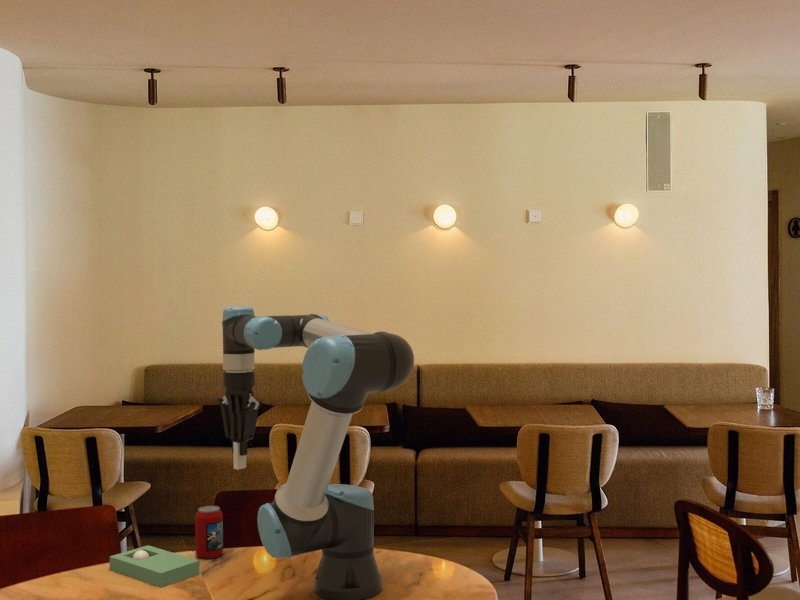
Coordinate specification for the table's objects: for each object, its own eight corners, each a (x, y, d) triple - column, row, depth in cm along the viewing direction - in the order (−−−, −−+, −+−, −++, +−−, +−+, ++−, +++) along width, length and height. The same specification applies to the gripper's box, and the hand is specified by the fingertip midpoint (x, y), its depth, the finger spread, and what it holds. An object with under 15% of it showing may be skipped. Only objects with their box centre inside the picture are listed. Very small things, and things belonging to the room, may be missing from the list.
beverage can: (216, 560, 212) (215, 512, 212) (191, 558, 213) (190, 511, 213) (227, 552, 219) (226, 505, 219) (202, 550, 220) (202, 504, 220)
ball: (150, 568, 208) (154, 553, 207) (136, 572, 205) (140, 558, 204) (141, 559, 210) (144, 545, 209) (127, 563, 207) (130, 549, 206)
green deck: (199, 573, 202) (199, 560, 202) (161, 587, 194) (161, 573, 194) (148, 557, 214) (147, 545, 214) (109, 569, 206) (109, 556, 206)
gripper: (269, 371, 204) (270, 468, 205) (232, 368, 212) (233, 462, 212) (245, 373, 198) (246, 474, 199) (208, 370, 206) (209, 467, 207)
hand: (239, 468), depth 206 cm, fingers closed
